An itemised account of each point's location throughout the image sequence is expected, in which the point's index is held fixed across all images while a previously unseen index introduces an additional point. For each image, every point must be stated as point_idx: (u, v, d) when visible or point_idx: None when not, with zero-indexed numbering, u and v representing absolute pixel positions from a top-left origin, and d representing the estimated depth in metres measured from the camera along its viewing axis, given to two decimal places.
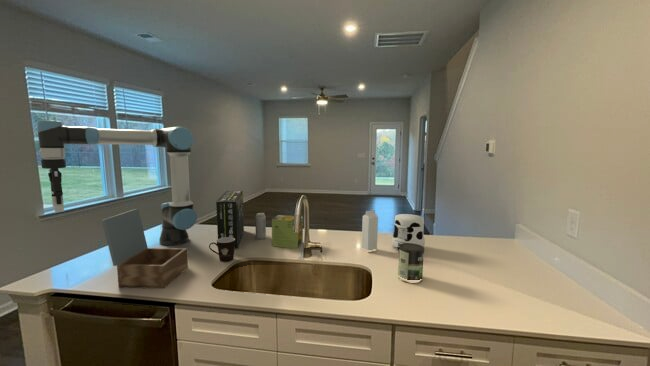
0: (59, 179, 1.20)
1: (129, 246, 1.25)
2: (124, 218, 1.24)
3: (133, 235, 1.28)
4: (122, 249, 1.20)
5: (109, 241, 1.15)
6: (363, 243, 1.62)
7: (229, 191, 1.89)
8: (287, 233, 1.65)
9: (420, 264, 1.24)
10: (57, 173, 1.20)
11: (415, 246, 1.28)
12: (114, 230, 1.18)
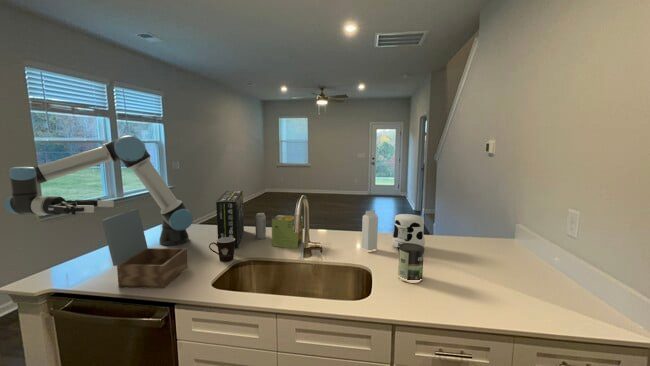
0: (55, 207, 1.16)
1: (129, 246, 1.25)
2: (124, 218, 1.24)
3: (133, 235, 1.28)
4: (122, 249, 1.20)
5: (109, 241, 1.15)
6: (363, 243, 1.62)
7: (229, 191, 1.89)
8: (287, 233, 1.65)
9: (420, 264, 1.24)
10: (50, 208, 1.17)
11: (415, 246, 1.28)
12: (114, 230, 1.18)
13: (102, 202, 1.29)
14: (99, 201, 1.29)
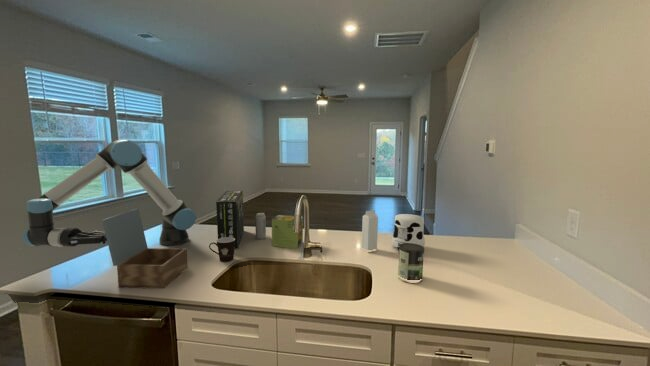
0: (81, 239, 1.19)
1: (129, 246, 1.25)
2: (124, 218, 1.24)
3: (133, 235, 1.28)
4: (122, 249, 1.20)
5: (109, 241, 1.15)
6: (363, 243, 1.62)
7: (229, 191, 1.89)
8: (287, 233, 1.65)
9: (420, 264, 1.24)
10: (73, 241, 1.18)
11: (415, 246, 1.28)
12: (114, 230, 1.18)
13: None
14: None
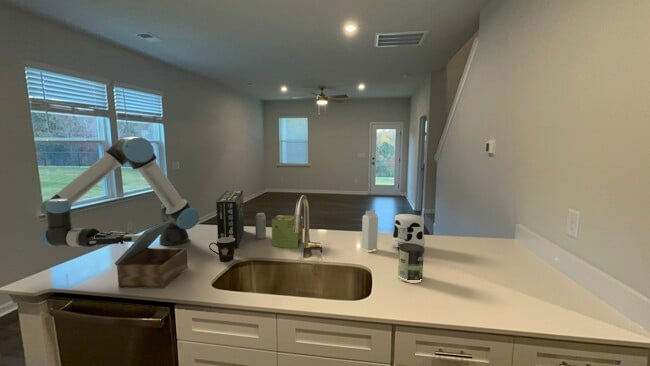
0: (99, 239, 1.19)
1: (139, 249, 1.25)
2: (159, 229, 1.25)
3: (150, 240, 1.28)
4: (132, 252, 1.20)
5: (132, 247, 1.15)
6: (363, 243, 1.62)
7: (229, 191, 1.89)
8: (287, 233, 1.65)
9: (420, 264, 1.24)
10: (92, 241, 1.18)
11: (415, 246, 1.28)
12: (144, 239, 1.18)
13: None
14: None
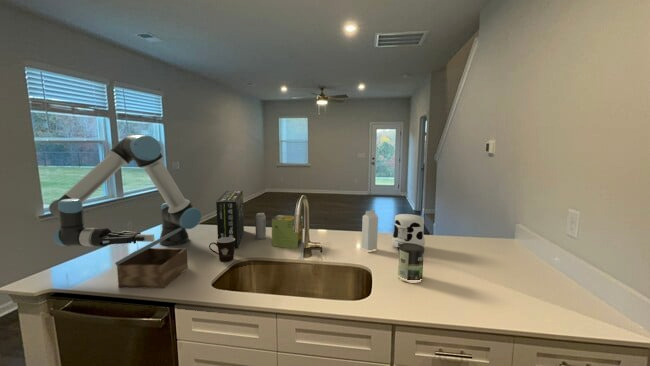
0: (112, 239, 1.20)
1: None
2: None
3: None
4: None
5: (137, 253, 1.15)
6: (363, 243, 1.62)
7: (229, 191, 1.89)
8: (287, 233, 1.65)
9: (420, 264, 1.24)
10: (105, 241, 1.19)
11: (415, 246, 1.28)
12: None
13: None
14: None
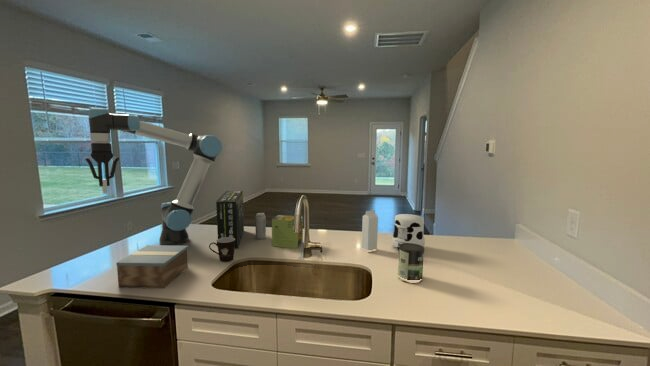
0: (89, 165, 1.36)
1: None
2: None
3: None
4: None
5: (141, 265, 1.16)
6: (363, 243, 1.62)
7: (229, 191, 1.89)
8: (287, 233, 1.65)
9: (420, 264, 1.24)
10: (86, 160, 1.35)
11: (415, 246, 1.28)
12: None
13: None
14: (104, 181, 1.40)
